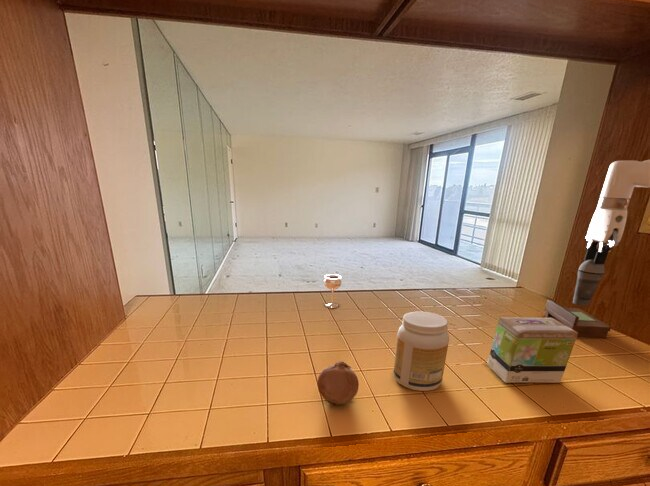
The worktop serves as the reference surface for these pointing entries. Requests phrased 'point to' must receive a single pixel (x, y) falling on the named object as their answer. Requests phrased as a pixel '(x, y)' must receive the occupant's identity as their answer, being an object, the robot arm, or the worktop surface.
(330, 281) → the wineglass
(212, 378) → the worktop surface
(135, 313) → the worktop surface
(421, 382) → the supplement tub
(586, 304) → the beverage cup
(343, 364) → the onion
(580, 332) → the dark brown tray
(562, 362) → the tea box
